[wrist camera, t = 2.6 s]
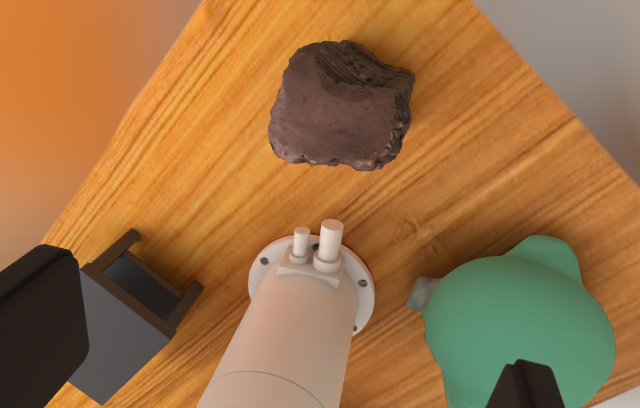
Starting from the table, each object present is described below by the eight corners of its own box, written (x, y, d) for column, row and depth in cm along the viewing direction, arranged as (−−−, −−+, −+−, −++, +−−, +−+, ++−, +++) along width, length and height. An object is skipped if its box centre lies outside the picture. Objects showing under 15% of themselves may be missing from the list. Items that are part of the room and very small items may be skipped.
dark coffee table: (131, 225, 46) (79, 269, 39) (207, 287, 48) (171, 340, 41) (73, 298, 52) (20, 347, 45) (143, 350, 54) (101, 406, 47)
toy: (586, 265, 43) (464, 186, 40) (704, 319, 32) (548, 215, 29) (483, 414, 45) (358, 350, 42) (560, 515, 34) (397, 439, 30)
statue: (319, 112, 37) (232, 228, 20) (336, 21, 34) (251, 61, 16) (401, 132, 37) (387, 270, 19) (426, 41, 33) (439, 105, 16)
